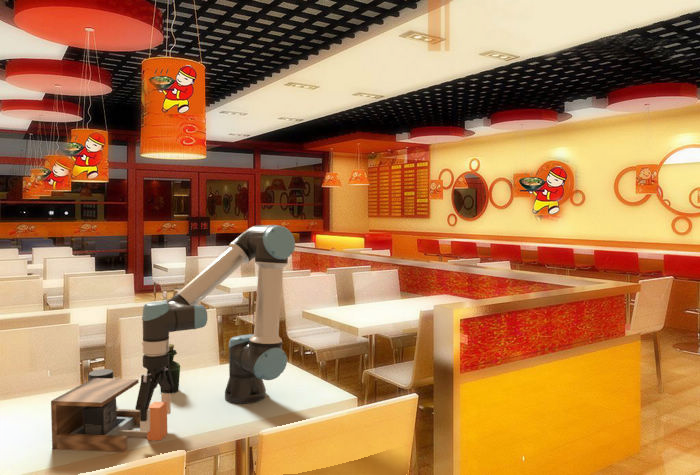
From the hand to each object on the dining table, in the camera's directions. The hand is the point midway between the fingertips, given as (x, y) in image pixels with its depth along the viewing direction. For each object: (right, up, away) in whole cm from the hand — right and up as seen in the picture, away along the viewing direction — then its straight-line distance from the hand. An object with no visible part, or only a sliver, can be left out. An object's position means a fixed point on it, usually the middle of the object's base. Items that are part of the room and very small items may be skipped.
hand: (156, 422), depth 156 cm
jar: (-30, -4, +27) cm, 40 cm away
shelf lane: (-15, -5, +2) cm, 16 cm away
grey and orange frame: (-11, -5, +1) cm, 12 cm away
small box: (-18, -5, +2) cm, 19 cm away
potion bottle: (-10, -3, +41) cm, 42 cm away
